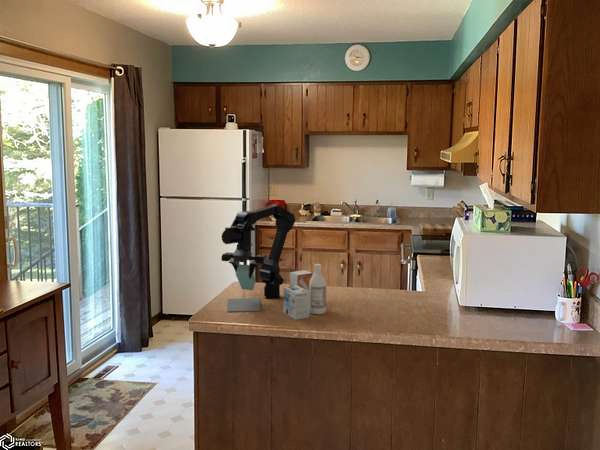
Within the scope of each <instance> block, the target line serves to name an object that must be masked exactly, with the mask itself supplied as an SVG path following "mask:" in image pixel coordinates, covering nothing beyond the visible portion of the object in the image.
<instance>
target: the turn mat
mask: <svg viewBox="0 0 600 450" xmlns="http://www.w3.org/2000/svg"><path fill="white" fill-rule="evenodd" d="M260 299H261V298H260V297H254V298H253V297H252V298H251V297H250V298H227V303H226V305H227V306H226V313H246V312H247V313H248V312H251V313H252V312H262V308H261V300H260Z"/></svg>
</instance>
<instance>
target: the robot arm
mask: <svg viewBox="0 0 600 450" xmlns="http://www.w3.org/2000/svg"><path fill="white" fill-rule="evenodd" d="M271 216H272V217H273V218H274V219H275V224H274V225H275V228H276V231H275V235H274V239H273V241H272V246H271V248H270V252H269V256H268V257H267V255H266V254H257V255H253V253H252V246H253V243H252V231H253V232H254V231H256V228H255V227H254V225H256V223H257V222H258V221H260V220H262V219H265V218H268V217H271ZM295 222H296V217H295V215H294V213H292V212H291V211H288V210H287V209H285V208H284V207H282V205H280V204H274V203H273V204H270V205H267V206H264V207H261V208H257V209H255V210H254V209H253V210H245V211H244V210H243V211H238V212H236V215H235V217H234V219H233V221H232V223H231V225H230V227H224V230H223V231H222V233H221V240H222V243H223V244H225V245H232V244H236V249H235V250H234V252H225V253H223V254H222V255H221V257H220V258H221V261H222V262H228V263H229V264H231V266H232V267H233V269H234V272H235V273H236V271H237V268H238V264H241V263H245V262H246V261H250V263H249V264H248V265H250V273H249V278H251V277H252V274H253V275H254V271H255V269H256V268H257V265H259V264H261V266H260V269H259V276H260V279H261V282H262V283H263V284H264V286H263V290H264V291H263V296H264V297H265V298H264V299H280V298H281V295H280V292H281V291H280V290H281V289H280V287H281V286H282V285H283V284H284V278H283V277H282V276H281V275H280V273H281V268H280V260H281V257H282V256H281V255H282V253H283V250H284V245H285V243H286V239H287V235H288V233H289V232H290V231H291V230H292V229H293V227H294V225H295ZM252 255H253V256H252Z"/></svg>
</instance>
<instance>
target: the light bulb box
mask: <svg viewBox="0 0 600 450" xmlns="http://www.w3.org/2000/svg"><path fill="white" fill-rule="evenodd" d="M309 298H310V291H307V290H305V289H303V288H301V287H299V286H291V287H290V286H286V287H283V314H286V315H287V316H288V317H290V318H291V319H292V320H295V321H296V320H303V319H307V318H310V312H309Z"/></svg>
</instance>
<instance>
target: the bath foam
mask: <svg viewBox="0 0 600 450" xmlns="http://www.w3.org/2000/svg"><path fill="white" fill-rule="evenodd" d="M313 269H314V271H313V273H312V277H311V279H310V282H309V291H310V298H309V314H313V315H323V314H325V313H326V311H327V281H326V279H325V277H324V275H323V274H322V264H321V263H315V264H314V266H313Z"/></svg>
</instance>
